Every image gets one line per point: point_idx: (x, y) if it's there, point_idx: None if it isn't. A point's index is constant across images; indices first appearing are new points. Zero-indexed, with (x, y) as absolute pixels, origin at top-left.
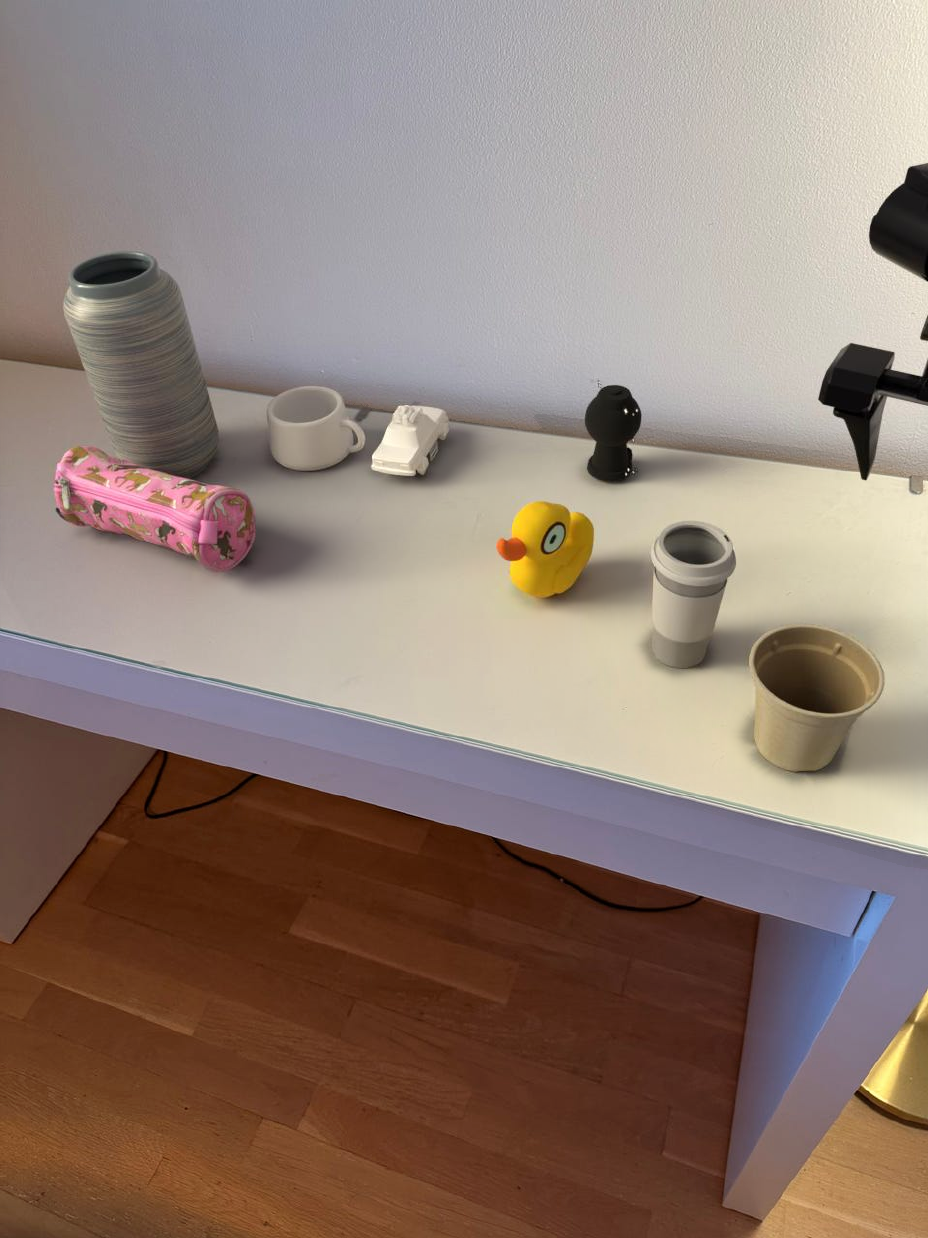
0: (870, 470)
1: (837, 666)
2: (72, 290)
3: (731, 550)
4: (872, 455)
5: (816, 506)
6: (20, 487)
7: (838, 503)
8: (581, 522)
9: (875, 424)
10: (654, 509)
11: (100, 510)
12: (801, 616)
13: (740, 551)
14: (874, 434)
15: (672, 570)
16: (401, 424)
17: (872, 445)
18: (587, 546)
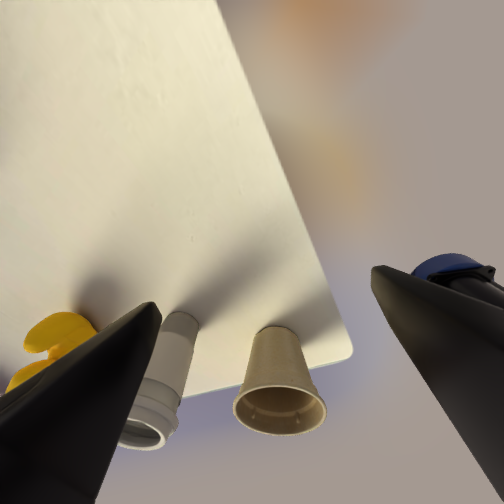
0: (149, 316)
1: (281, 364)
2: None
3: (158, 430)
4: (128, 365)
5: (105, 77)
6: None
7: (115, 44)
8: (40, 351)
9: (44, 500)
10: (31, 216)
11: None
12: (216, 255)
13: (125, 217)
14: (79, 447)
15: (145, 438)
16: None
17: (109, 415)
18: (66, 333)
